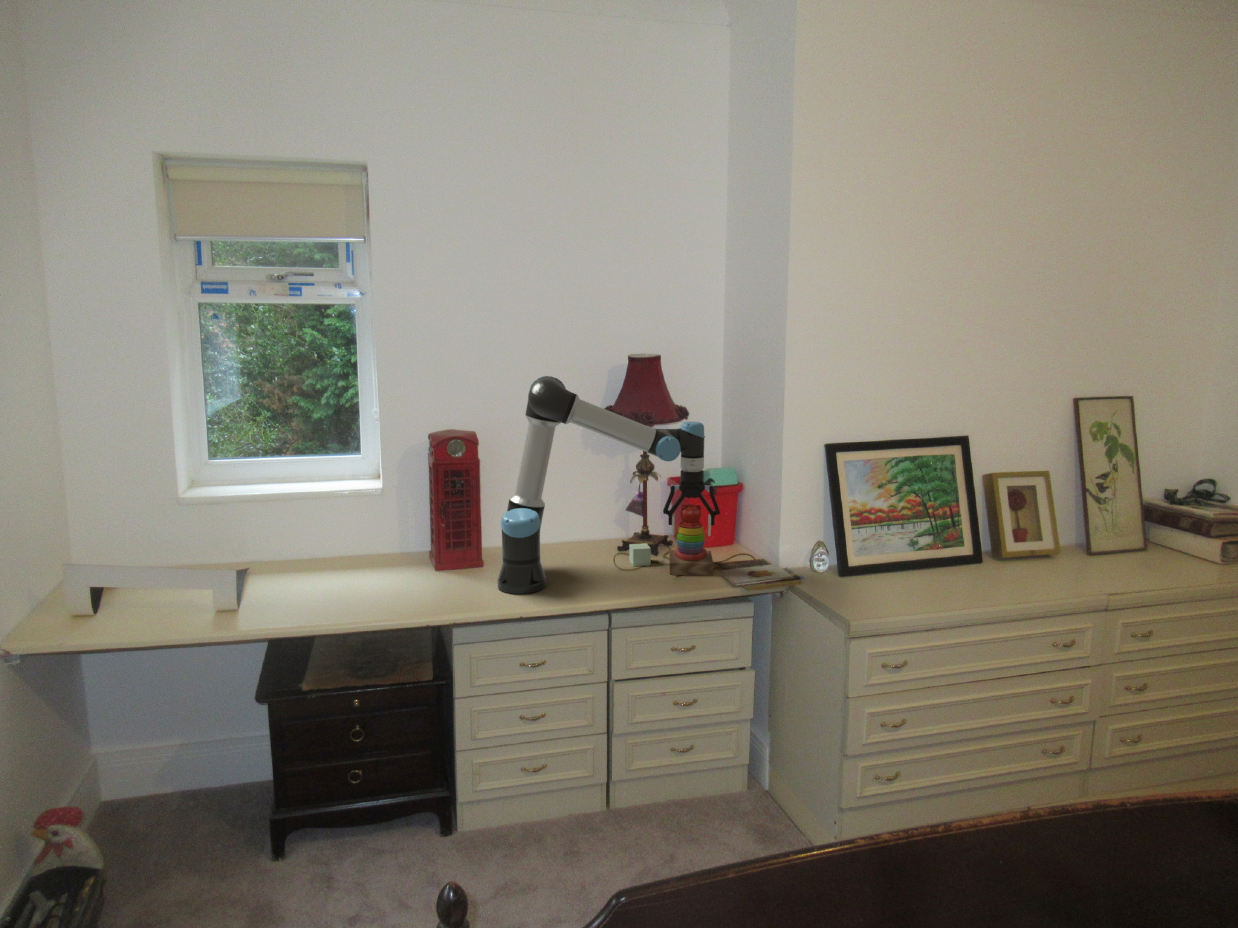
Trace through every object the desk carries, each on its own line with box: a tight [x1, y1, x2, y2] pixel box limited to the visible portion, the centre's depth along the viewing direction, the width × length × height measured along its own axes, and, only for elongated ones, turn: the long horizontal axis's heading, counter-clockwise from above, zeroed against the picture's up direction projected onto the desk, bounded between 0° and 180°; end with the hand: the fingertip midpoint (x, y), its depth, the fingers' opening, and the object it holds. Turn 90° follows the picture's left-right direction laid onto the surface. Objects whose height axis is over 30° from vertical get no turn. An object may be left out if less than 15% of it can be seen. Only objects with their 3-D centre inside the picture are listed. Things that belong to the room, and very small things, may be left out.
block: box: [628, 542, 652, 567], centre depth 273 cm, size 6×6×6 cm
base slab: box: [668, 549, 714, 576], centre depth 267 cm, size 14×14×4 cm
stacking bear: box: [674, 504, 708, 561], centre depth 265 cm, size 11×10×18 cm
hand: (691, 534), depth 265 cm, fingers open, 11 cm apart
